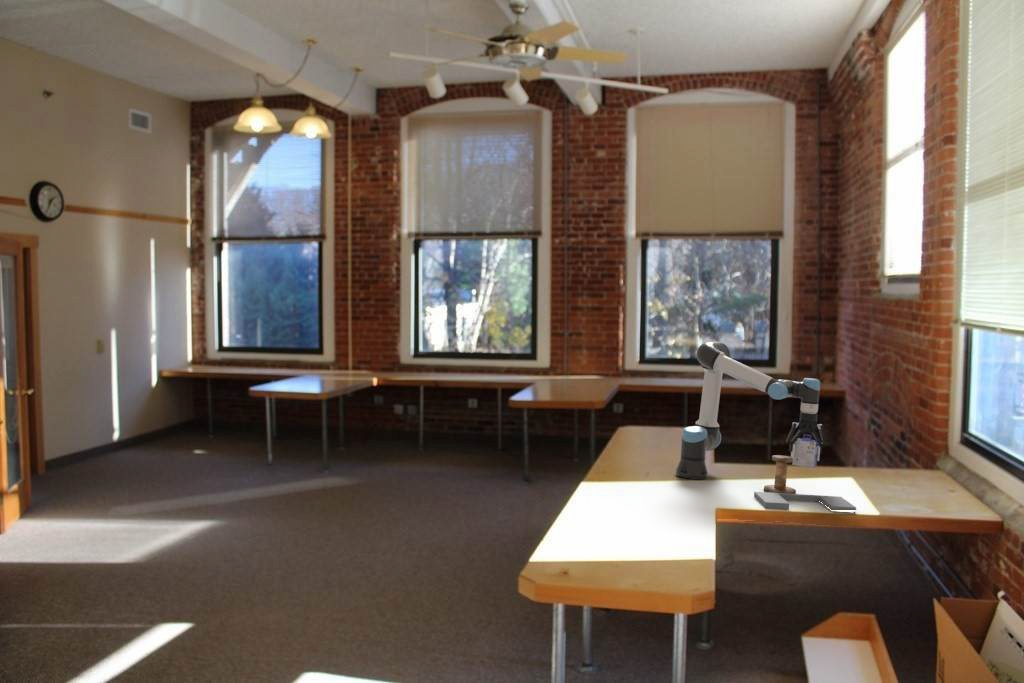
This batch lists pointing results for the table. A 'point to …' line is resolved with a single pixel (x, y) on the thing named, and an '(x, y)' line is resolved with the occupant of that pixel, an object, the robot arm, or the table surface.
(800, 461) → the ink cartridge box
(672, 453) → the table surface
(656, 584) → the table surface
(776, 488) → the bobbin
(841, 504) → the notched board
